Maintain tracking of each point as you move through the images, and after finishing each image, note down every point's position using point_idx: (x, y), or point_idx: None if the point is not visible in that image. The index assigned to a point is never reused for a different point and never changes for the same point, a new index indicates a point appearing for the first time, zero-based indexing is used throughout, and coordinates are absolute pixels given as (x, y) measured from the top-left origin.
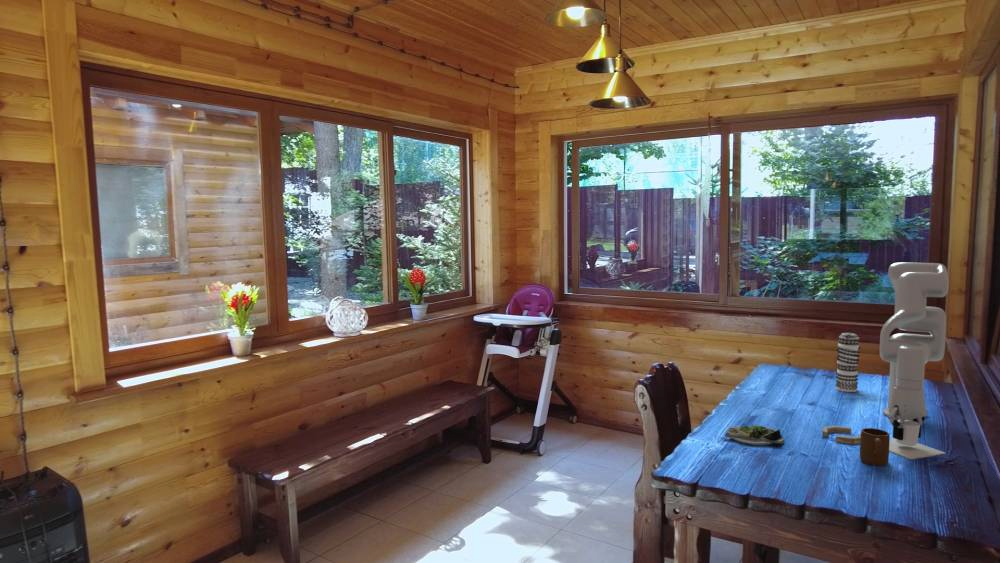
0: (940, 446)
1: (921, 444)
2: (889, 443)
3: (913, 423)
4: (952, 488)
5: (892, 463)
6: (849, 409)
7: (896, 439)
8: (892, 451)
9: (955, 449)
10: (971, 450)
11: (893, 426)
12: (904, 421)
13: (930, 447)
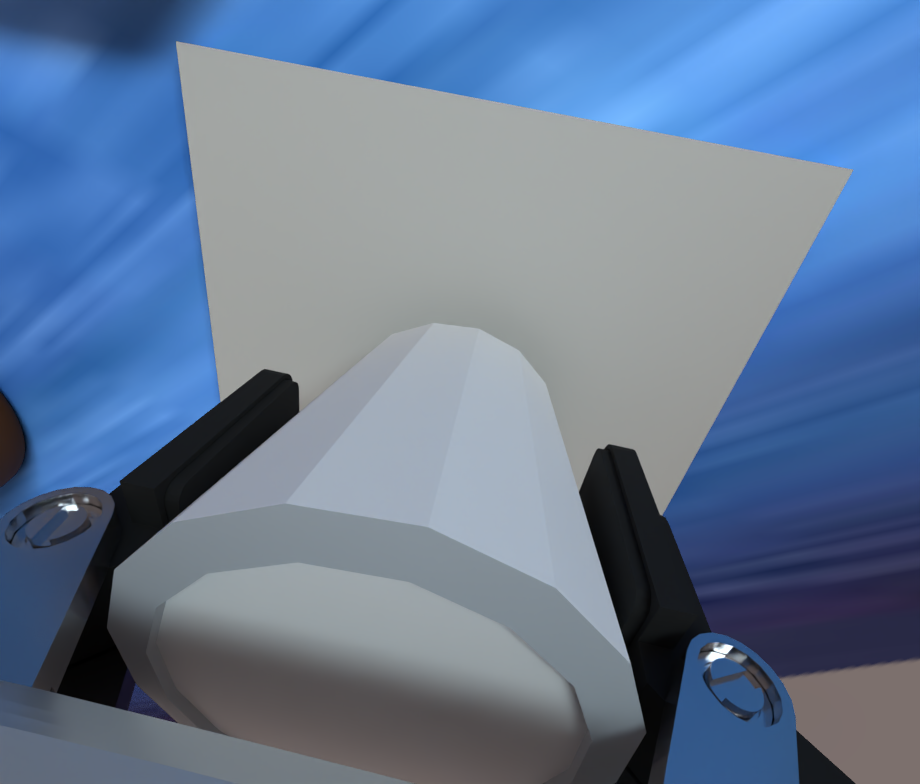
0: (827, 522)
1: (701, 434)
2: (409, 232)
3: (394, 770)
4: (137, 705)
5: (61, 482)
6: None
7: (354, 365)
8: (222, 385)
9: (823, 603)
10: (894, 662)
11: (138, 472)
12: (346, 664)
13: (664, 510)
